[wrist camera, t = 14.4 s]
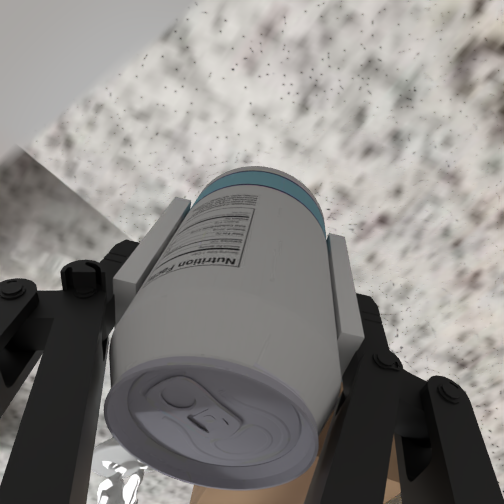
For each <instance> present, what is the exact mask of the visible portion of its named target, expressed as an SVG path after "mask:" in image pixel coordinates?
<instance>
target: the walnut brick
mask: <svg viewBox="0 0 504 504" xmlns="http://www.w3.org/2000/svg"><path fill="white" fill-rule="evenodd" d="M342 391H343V382H341V389H340V394H339V397H340V395H341V393H342ZM333 414H334V410H333V412H332V413H331V415H330V417H329V419H328V421H327V422H326V424H325V426H324V428H323V429H322V431H321V433H320V435H319V436H318V439H319V447H318V453H317V456H316V459H315V461H314V462H313V464H312V466H311V467H310V468H309V469H308V470H307V471H306V472H305V473H303V474H302V475H301V476H299V477H298V478H296V479H294V480H292V481H290V482H288V483H285V484H282V485H279V486H275V487H271V488H266V489H259V490H246V491H236V490H221V489H214V488H207V487H203V486H198V485H194V487H193V492H192V496H191V500H190V504H304V501H305V498H306V495H307V492H308V489H309V486H310V483H311V480H312V477H313V474H314V471H315V468H316V465H317V462H318V459H319V456H320V453H321V450H322V447H323V444H324V441H325V438H326V435H327V432H328V429H329V426H330V423H331V420H332V417H333ZM400 493H401V489H400V481H399V472H398V464H397V455H396V447H395V439H394V436H393V442H392V449H391V456H390V462H389V469H388V476H387V482H386V489H385V495H384V502H383V504H385V503H387V502H388V501H389V500H391V499H392V498H394V497H395V496H397V495H398V494H400Z"/></svg>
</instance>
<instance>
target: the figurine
mask: <svg viewBox="0 0 504 504" xmlns="http://www.w3.org/2000/svg"><path fill="white" fill-rule="evenodd" d="M91 470H92V471H93V472H95V473H96V474H98V475H100V476H102V477H105V478H107V479H106V480H105V481H104V482H102V483H101V484H100V486H99V489H98V492H97V495H98V504H135V500H136V495H137V492H138V490H137V487H138V486H139V485H140V484H141V482H142V480H143V476H144V473H147V472H153V471H156V470H154V469H152V468H150V467H148V466H147V465H145V464H143V463H142V462H140V461H139V460H137V459H136V458H135V457H133V456H132V455H131V454H129V453H128V452H127V451H126V450H125V449H124V448H123V447H122V446H121V445H120V444H119V443H118V442H117V441H116V439H115V438H114V437H113V438H111V439H109V440H107V441H105V442H103V443H101V444H99V445H98V446H96V447H95V448H94V451H93V458H92V465H91ZM130 476H131V478H130V480H129V481H128V483H127V484H126V485H125V484H124V482H123V479H122V478H127V477H130ZM121 479H122V480H121ZM124 486H125V487H124ZM137 503H138V499H137V502H136V504H137Z"/></svg>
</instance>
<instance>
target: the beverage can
mask: <svg viewBox="0 0 504 504" xmlns="http://www.w3.org/2000/svg"><path fill="white" fill-rule="evenodd" d="M109 359H110V378H111V389H110V391H109V393H108V395H107V397H106V400H105V404H104V417H105V421H106V424H107V427H108V428H109V430H110V432H111V434H112V435H113V437H114V438H115V439H116V441H117V442H118V443H119V444H120V445H121V446H122V447H123V448H124V449H125V450H126V451H127V452H128V453H129V454H131V455H132V456H133V457H135V458H136V459H137V460H139V461H140V462H142V463H143V464H145V465H147V466H148V467H150V468H152V469H154V470H156V471H158V472H160V473H162V474H164V475H167V476H169V477H172V478H174V479H177V480H180V481H183V482H187V483H190V484H194V485H198V486H203V487H207V488H214V489H221V490H236V491H246V490H259V489H266V488H271V487H275V486H279V485H282V484H285V483H288V482H290V481H292V480H294V479H296V478H298V477H299V476H301V475H302V474H303V473H305V472H306V471H307V470H308V469H309V468H310V467H311V466H312V464H313V462H314V461H315V459H316V456H317V453H318V447H319V439H318V436H319V435H320V433H321V431H322V429H323V428H324V426H325V424H326V422H327V421H328V419H329V417H330V415H331V413H332V412H333V410H334V408H335V406H336V404H337V401H338V398H339V394H340V389H341V370H340V361H339V352H338V343H337V333H336V324H335V315H334V306H333V297H332V288H331V278H330V269H329V260H328V251H327V242H326V232H325V223H324V217H323V214H322V210H321V208H320V206H319V203H318V202H317V200H316V198H315V197H314V195H313V194H312V193H311V192H310V190H309V189H308V188H307V187H306V186H305V185H304V184H302V183H301V182H300V181H299V180H297V179H296V178H294V177H292V176H291V175H289V174H287V173H285V172H282V171H279V170H276V169H273V168H268V167H260V166H249V167H241V168H237V169H233V170H230V171H228V172H225V173H223V174H221V175H220V176H218V177H217V178H215V179H214V180H212V181H211V182H210V183H209V184H208V185H207V186H206V187H205V188H204V189H203V191H202V192H201V194H200V195H199V197H198V198H197V200H196V201H195V203H194V205H193V206H192V208H191V209H190V211H189V212H188V214H187V216H186V217H185V219H184V220H183V222H182V223H181V225H180V227H179V228H178V230H177V231H176V233H175V234H174V236H173V238H172V239H171V241H170V242H169V244H168V245H167V247H166V249H165V250H164V252H163V253H162V255H161V256H160V258H159V260H158V261H157V263H156V264H155V266H154V267H153V269H152V271H151V272H150V274H149V275H148V277H147V278H146V280H145V281H144V283H143V285H142V286H141V288H140V289H139V291H138V292H137V294H136V296H135V297H134V299H133V300H132V302H131V303H130V305H129V307H128V308H127V310H126V311H125V313H124V314H123V316H122V318H121V319H120V321H119V322H118V324H117V326H116V328H115V330H114V332H113V335H112V338H111V343H110V350H109Z"/></svg>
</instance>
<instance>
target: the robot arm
mask: <svg viewBox="0 0 504 504" xmlns="http://www.w3.org/2000/svg"><path fill="white" fill-rule="evenodd" d="M190 206H191V200H187V199H183V198H178V197H175V199H174V200H173V201H172V202H171V204H170V205H169V206H168V208H167V209H166V210H165V211H164V213H163V214H162V215H161V217H160V218H159V219H158V221H157V222H156V223H155V224H154V226H153V227H152V228H151V230H150V231H149V232H148V233H147V235H146V236H145V237H144V239H143V240H142V241H141V242H140V243H138V242H134V241H130V240H124V241H122V242H120V243H118V244H116V245H115V246H114V247H113V248H112V249H111V250H110V252H109V254H107V255H106V256H105V257H104V259H102V261H101V262H100V263H98V262H96V261H92V260H78V261H74V262H71V263H69V264H67V265H66V266H64V267H63V268H62V270H61V271H60V273H61V280H62V287H63V290H59V291H37V287H36V284H35V283H34V282H32V281H30V280H27V279H20V278H15V279H9V280H5V281H3V282H0V418H1V416H2V415H3V413H4V412H5V410H6V409H7V407H8V406H9V404H10V403H11V401H12V400H13V398H14V396H15V395H16V393H17V392H18V390H19V389H20V387H21V386H22V384H23V383H24V381H25V380H26V378H27V377H28V375H29V374H30V372H31V371H32V369H33V367H34V366H35V364H36V363H37V361H38V360H39V358H40V357H41V355H42V354H43V355H42V358H41V361H40V364H39V367H38V371H37V374H36V377H35V380H34V383H33V386H32V389H31V392H30V395H29V398H28V402H27V405H26V408H25V411H24V414H23V417H22V420H21V423H20V426H19V430H18V433H17V436H16V439H15V442H14V445H13V448H12V451H11V454H10V457H9V461H8V464H7V467H6V470H5V473H4V476H3V479H2V482H1V485H0V504H86V501H87V494H88V487H89V480H90V472H91V465H92V458H93V451H94V444H95V437H96V430H97V423H98V416H99V409H100V402H101V395H102V388H103V380H104V373H105V366H106V359H107V352H108V345H109V338H108V335H109V334H110V332H111V330H112V329H113V327H115V328H116V326H117V324H118V322H119V321H120V319H121V318H122V316H123V314H124V313H125V311H126V310H127V308H128V307H129V305H130V303H131V302H132V300H133V299H134V297H135V296H136V294H137V292H138V291H139V289H140V288H141V286H142V285H143V283H144V281H145V280H146V278H147V277H148V275H149V274H150V272H151V271H152V269H153V267H154V266H155V264H156V263H157V261H158V260H159V258H160V256H161V255H162V253H163V252H164V250H165V249H166V247H167V245H168V244H169V242H170V241H171V239H172V238H173V236H174V234H175V233H176V231H177V230H178V228H179V227H180V225H181V223H182V222H183V220H184V219H185V217H186V216H187V214H188V212H189V211H190ZM326 242H327V251H328V260H329V269H330V278H331V288H332V297H333V306H334V315H335V324H336V333H337V343H338V352H339V361H340V370H341V380H342V381H343V391H342V393H341V395H340V397H339V398H338V401H337V404H336V406H335V408H334V414H333V417H332V420H331V423H330V426H329V429H328V432H327V435H326V438H325V441H324V444H323V447H322V450H321V453H320V456H319V459H318V462H317V465H316V468H315V471H314V474H313V477H312V480H311V483H310V486H309V489H308V492H307V495H306V498H305V501H304V504H383V502H384V495H385V489H386V482H387V476H388V469H389V462H390V456H391V449H392V442H393V436H394V439H395V447H396V455H397V464H398V472H399V481H400V489H401V497H402V504H504V499H503V496H502V493H501V490H500V487H499V484H498V481H497V478H496V476H495V473H494V470H493V467H492V464H491V461H490V458H489V455H488V452H487V449H486V446H485V443H484V440H483V438H482V435H481V432H480V429H479V426H478V423H477V420H476V417H475V414H474V411H473V408H472V405H471V402H470V400H469V398H468V396H467V394H466V392H465V391H464V390H463V389H462V388H461V387H460V386H459V385H458V384H456V383H455V382H454V381H452V380H450V379H448V378H446V377H443V376H437V375H436V376H432V377H431V378H430V379H429V380H428V381H425V380H423V379H421V378H419V377H417V376H415V375H413V374H411V373H409V372H407V371H405V370H404V369H403V365H402V363H401V361H400V360H399V358H398V357H397V356H396V355H395V354H394V353H392V352H391V351H390V350H389V347H388V343H387V339H386V336H385V332H384V328H383V325H382V321H381V317H380V313H379V310H378V306H377V305H376V303H375V302H374V301H373V299H372V298H371V297H370V296H366V295H362V294H358V293H356V292H355V287H354V282H353V277H352V272H351V267H350V262H349V257H348V252H347V247H346V241H345V237H343V236H339V235H335V234H331V233H329V235H328V238H327V240H326Z"/></svg>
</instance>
